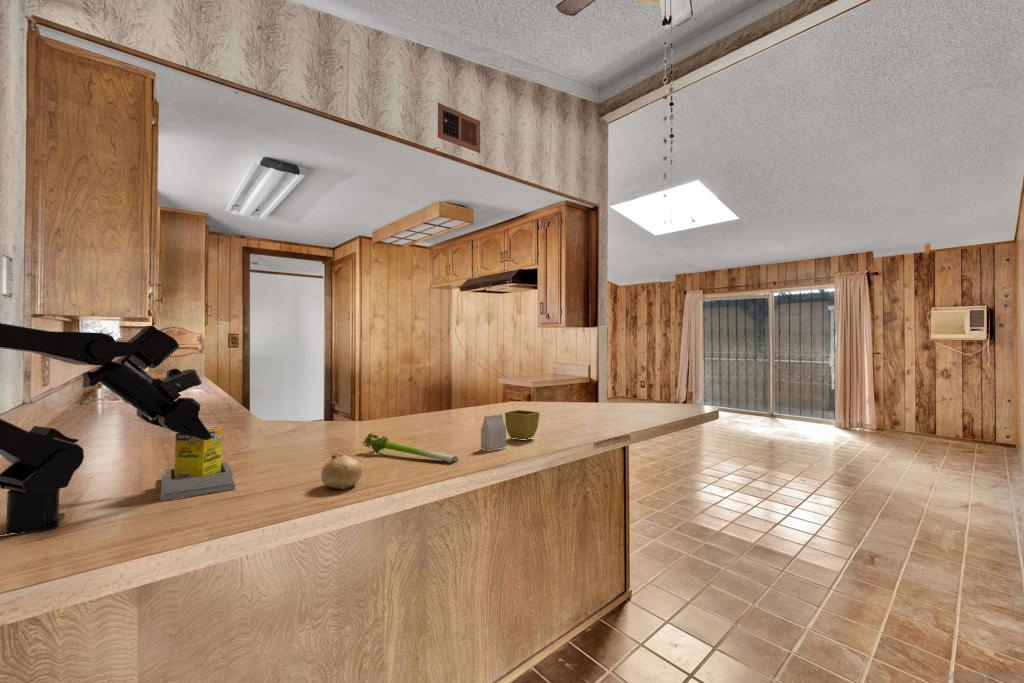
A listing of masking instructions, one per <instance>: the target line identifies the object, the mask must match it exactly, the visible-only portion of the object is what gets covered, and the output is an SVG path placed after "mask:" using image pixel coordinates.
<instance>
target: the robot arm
mask: <svg viewBox="0 0 1024 683" xmlns="http://www.w3.org/2000/svg"><path fill="white" fill-rule="evenodd" d="M0 349H3V350H4V349H5V350H11V351H13V350H14V351H20V352H25V353H26V352H27V353H33V354H38V355H40V356H45V357H47V358H50V359H53V360H57V361H61V362H64V363H68V364H72V365H74V366H75V365H76V366H99V367H97V368H96V369H94V371H85V372H83V373H82V377H83V380H82V385H81V386H82V388H84V389H86V388H87V389H88V388H92V387H95V386H96V385H97V384H98V383H100V384H101V385H103V386H104V387H106V388H107V389H109V390H110V391H111V392H113V393H114V394H116V395H117V396H118V397H119V398H121V400H122V401H123V402H124V403H125V404H128V405H130V406H132V407H134V408H135V409H136V416H137V417H138V418H139V419H140V420H142V421H144V422H146V423H148V424H150V425H153V426H157V427H161V428H165V429H167V430H169V431H171V432H175V433H182V434H185V435H189V436H193V437H197V438H200V439H204V440H209V439H210V438H211V434H210V433H209V431H208V430H207V429H206V428H207V427H206V426H205V425H204V423H203V422H202V420H201V419H200V418H199V414H200V410H201V403H199V402H198V401H197V400H196V399H194V398H191V397H181V396H182V394H180V393H181V392H182V393H183V392H185V391H186V390H189V389H191V388H193V387H198V386H200V385H202V384H203V382H202V380H201V378H200V376H199V375H198V372H197V371H196V369H191V368H190V369H183V370H180V369H178V368H172V369H169V370H167V371H166V374H165V375H166V377H164V378H163V379H161V378H155V377H153V376H151V375H149V373H147V372H146V371H144V370H146V369H148V368H150V369H156V368H158V367H159V366H160V365H161V364H162V363H164V361H166V360H167V359H168V358H169V357H171V355H172V354H174V352H176V351H177V350H178V349H180V345H179V342H178V341H177V340H176V339H175V338H174V337H173V336H171V335H169V334H168V333H166V332H164V331H162V330H159V329H158V328H156V327H155V325H145V326H144V327H143V328H141V329H140V330H139V332H137V334H136V335H133V337H132V338H130V339H128V341H118V340H116V339H115V338H114V337H113V336H112V335H110V334H107V333H104V332H86V331H84V332H83V331H55V330H53V331H50V330H44V329H39V328H38V329H37V328H31V327H26V326H25V327H24V326H19V325H14V324H6V323H3V322H2V323H1V322H0ZM115 358H118V359H116V360H114V359H115ZM113 360H114V361H113ZM78 442H79V439H78V438H71V437H67V436H66V435H64V433H62V432H60V431H59V430H57V429H56V428H54V427H46V426H38V425H34V426H32V428H31V429H30V431H29V430H25V429H23V428H21V427H19V426H17V425H15V424H13V423H11V422H8V421H6V420H5V419H2V418H0V456H1V457H3V458H4V459H5V460H6V461H7V462H9V463H10V465H9V466H8V467H7V468H6V469H4V470H2V472H1V473H0V489H2V490H7V494H6V495H7V496H6V518H5V520H6V521H5V522H6V523H5V525H4V526H3V527H2V528H1V529H0V535H4V534H10V533H20V534H22V533H21V532H26V533H31V532H30V531H32V532H36V531H37V532H38V531H42V530H43V531H45V530H49V529H54V528H58V527H59V526H60V525H61V523H62V521H64V518H65V517H66V513H65V512H61V513H60V490H61V489H63V488H68V486H69V484H70V482H71V480H72V477H73V475H74V473H75V472H76V471H77V470H78V469H79V468H80V467H81V465H82V464H83V462H84V459H85V458H84V457H85V456H84V451H85V450H84V449H83V447H81V445H79V444H77V443H78ZM1 533H2V534H1Z"/></svg>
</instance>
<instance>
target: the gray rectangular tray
mask: <svg viewBox="0 0 1024 683" xmlns="http://www.w3.org/2000/svg"><path fill="white" fill-rule="evenodd" d="M174 471H175V467H174V468H173V467H172V468H165V469H164V474H161V484H160V487H161V488H160V502H166V501H171V499H173V500H176V499H175V498H179V499H182V498H181V497H185V498H188V497H187V496H191V497H195V495H197V496H202V494H204V495H209V494H208V493H210V494H215V493H214V492H216V493H221V492H220V491H222V492H227V490H229V491H233V489H235V490H236V483H235V480H234V478H233V471H232V469H231V467H230V465H229V463H228V461H221V473H215V474H208V475H201V476H193V477H186V478H179V479H174Z"/></svg>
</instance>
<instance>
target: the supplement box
mask: <svg viewBox="0 0 1024 683" xmlns="http://www.w3.org/2000/svg"><path fill="white" fill-rule="evenodd" d="M206 429H207V430H208V431H209V433H210V434H211V438H210V439H209V440H204V439H200V438H197V437H193V436H189V435H185V434H182V433H178V432H175V449H174V450H175V451H174V468H175V471H174V479H179V478H186V477H193V476H201V475H208V474H215V473H221V462H222V448H223V447H222V446H223V444H222V441H223V428H222V427H221V428H219V427H214V428H212V427H211V428H207V427H206Z"/></svg>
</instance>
